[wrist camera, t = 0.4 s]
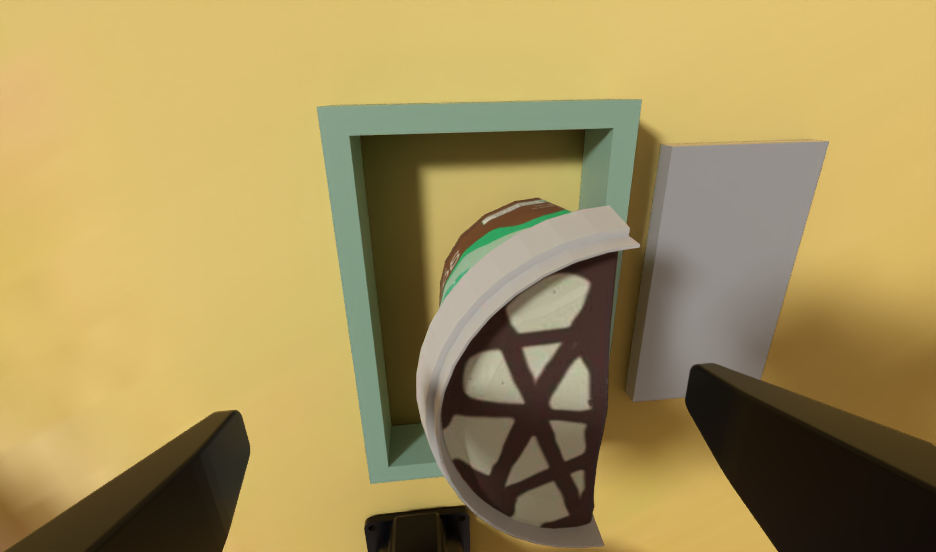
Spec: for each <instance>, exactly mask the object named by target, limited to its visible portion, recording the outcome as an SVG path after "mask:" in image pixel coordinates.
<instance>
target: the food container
mask: <svg viewBox="0 0 936 552" xmlns="http://www.w3.org/2000/svg"><path fill="white" fill-rule="evenodd" d="M629 231H630V227H629V226H628V225H627V224H626V223H625V222H624V221H623V220H622V219H621V217H620V216H619V215H618V214H617V213H616V212H615V211H614V210H613V209H612V207H611V206H610V205H608V206H602V207H595V208H589V209H582V210H577V211H574V212H570V211H568V210H566V209H563V208H561V207H559V206H556V205H554V204H552V203H549V202H547V201H545V200H542V199H540V198H533V199H527V200H520V201H514V202H512V203H510V204H507V205H505V206H503V207H501V208H498V209H496V210H494V211H492V212H489V213H487V214H485V215H484V216H482V217H481V218H480V219H479V220H478V221H477V222H476V223H474V224H473V225H472V226H471V227H470V228H469V229H468V230H466V231H465V232H464V233H463V234H462V235H461V236H460V238H459V239H458V241H457V242H456V244H455V246H454V247H453V249H452V251H451V252H450V254H449V256H448V257H447V259H446V261H445V265H444V269H443V273H442V277H441V281H440V299H439V310H438V311H437V313H436V315H435V316H434V318H433V320H432V322H431V323H430V326H429V329H428V331H427V334H426V337H425V339H424V342H423V345H422V347H421V351H420V357H419V362H418V368H417V373H416V394H417V403H418V408H419V413H420V418H421V422H422V425H423V428H424V431H425V434H426V436H427V439H428V442H429V445H430V448H431V451H432V453H433V455H434V458H435V460H436V463H437V465H438V467H439V469H440V471H441V472H442V474H443V475H444V477H445V478H446V480H447V481H448V483H449V484H450V486H451V487H452V488H453V489H454V491H455V492H456V494H457V495H458V497H459V498H460V500H461V501H462V502H463V503H464V504H465V505H466V506H467V507H468V508H469V509H470V510H471V511H472V512H473V513H474V514H475V515H476V516H478V517H479V518H480V519H482V520H483V521H485V522H486V523H488V524H489V525H491V526H492V527H494V528H495V529H498V530H500V531H502V532H504V533H506V534H508V535H510V536H513V537H515V538H518V539H522V540H525V541H528V542H532V543H535V544H541V545H547V546H553V547H566V548H587V547H601V546H604V543H603V540H602V538H601V535H600V532H599V530H598V527H597V524H596V522H595V519H594V516H593V509H594V485H595V476H596V467H597V461H598V455H599V449H600V445H601V440H602V436H603V431H604V425H605V420H606V415H607V406H608V376H609V349H610V330H611V320H612V309H613V299H614V289H615V279H616V269H617V259H618V251H621V250H627V249H633V248H639V247H640V244H639V243H638V242H636V241H635V240H634V239H633V238H631V237H630V236H629Z"/></svg>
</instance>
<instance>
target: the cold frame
mask: <svg viewBox="0 0 936 552" xmlns="http://www.w3.org/2000/svg"><path fill="white" fill-rule="evenodd" d="M641 102H642V100H637V99H593V100H548V101H503V102H458V103H413V104H367V105H330V106H320V107H317V112H318V119H319V126H320V133H321V140H322V147H323V154H324V161H325V168H326V175H327V182H328V189H329V196H330V203H331V210H332V217H333V224H334V231H335V238H336V245H337V252H338V259H339V266H340V274H341V281H342V288H343V295H344V302H345V309H346V316H347V323H348V330H349V337H350V344H351V351H352V358H353V365H354V372H355V379H356V386H357V393H358V400H359V407H360V414H361V421H362V428H363V435H364V442H365V449H366V456H367V463H368V470H369V477H370V484H374V483H383V482H393V481H403V480H413V479H423V478H432V477H442V476H444V475H443V474H442V472H441V471H440V469H439V467H438V465H437V463H436V460H435V458H434V455H433V453H432V451H431V448H430V445H429V442H428V439H427V436H426V434H425V431H424V428H423V425H422V423H417V424H406V425H395V426H392V425H391V416H390V407H389V398H388V388H387V379H386V370H385V361H384V352H383V343H382V334H381V325H380V315H379V306H378V297H377V288H376V279H375V270H374V261H373V251H372V242H371V233H370V224H369V215H368V206H367V197H366V188H365V178H364V169H363V160H362V151H361V142H360V135H390V134H425V133H460V132H495V131H530V130H565V129H585V139H584V151H583V164H582V176H581V189H580V201H579V210H582V209H589V208H595V207H602V206H608V205H610V206H611V207H612V209H613V210H614V211H615V212H616V213H617V214H618V215H619V216H620V217H621V219H622V220H623V221H624V222H625V223H627V215H628V207H629V199H630V191H631V183H632V175H633V167H634V159H635V151H636V143H637V135H638V127H639V118H640V110H641ZM622 255H623V250H621V251H618V259H617V269H616V279H615V289H614V299H613V309H612V320H611V330H610V349H609V359H610V351H611V343H612V335H613V327H614V319H615V311H616V303H617V295H618V287H619V279H620V271H621V263H622Z"/></svg>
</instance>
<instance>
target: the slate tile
mask: <svg viewBox="0 0 936 552" xmlns="http://www.w3.org/2000/svg"><path fill="white" fill-rule="evenodd" d="M828 144H829V141H822V140H812V139H807V140H776V141H746V142H715V143H684V144H661V147H660V154H659V161H658V167H657V174H656V181H655V188H654V195H653V202H652V209H651V216H650V222H649V229H648V236H647V243H646V250H645V257H644V264H643V271H642V277H641V284H640V291H639V298H638V305H637V312H636V319H635V325H634V332H633V339H632V346H631V353H630V360H629V367H628V374H627V380H626V387H625V392H626V393H627V395H628V396H629V398H630V399H631V400H632V402H640V401H651V400H662V399H673V398H685V396H686V390H687V384H688V378H689V372H690V369H691V367H692V366H693V365H695V364H703V363H715V364H718V365H721V366H724V367H726V368H729V369H732V370H734V371H737V372H740V373H742V374H745V375H748V376H751V377H753V378H756V379H759V380H761V377H762V373H763V370H764V366H765V363H766V359H767V356H768V352H769V349H770V345H771V342H772V338H773V335H774V331H775V328H776V324H777V321H778V317H779V314H780V311H781V307H782V304H783V300H784V297H785V293H786V290H787V286H788V283H789V279H790V276H791V272H792V269H793V265H794V262H795V258H796V255H797V251H798V248H799V245H800V241H801V238H802V234H803V231H804V227H805V224H806V220H807V217H808V213H809V210H810V206H811V203H812V199H813V196H814V192H815V189H816V185H817V182H818V179H819V175H820V172H821V168H822V165H823V161H824V158H825V154H826V151H827V147H828Z"/></svg>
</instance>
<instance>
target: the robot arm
mask: <svg viewBox="0 0 936 552" xmlns="http://www.w3.org/2000/svg"><path fill="white" fill-rule="evenodd" d="M685 402H686V406H687V409H688V411H689V413H690V415H691V416H692V418H693V420H694V422H695V424H696V425H697V427H698V429H699V431H700V432H701V434H702V436H703V438H704V439H705V441H706V443H707V445H708V447H709V448H710V450H711V452H712V454H713V455H714V457H715V459H716V461H717V462H718V464H719V466H720V467H721V469H722V471H723V472H724V474H725V476H726V477H727V479H728V480H729V482H730V483H731V485H732V486H733V488H734V489H735V491H736V492H737V494H738V495H739V496H740V498H741V499H742V501H743V502H744V504H745V505H746V506H747V508H748V509H749V511H750V512H751V514H752V515H753V516H754V518H755V519H756V521H757V522H758V524H759V525H760V526H761V528H762V529H763V531H764V532H765V534H766V535H767V536H768V538H769V539H770V541H771V542H772V544H773V545H774V547H775V548H776V549H777V551H778V552H936V447H935V446H934V445H933V444H932V443H929V442H927V441H924V440H921V439H919V438H916V437H913V436H910V435H908V434H905V433H902V432H900V431H897V430H894V429H891V428H889V427H886V426H883V425H881V424H878V423H875V422H872V421H870V420H867V419H864V418H862V417H859V416H856V415H854V414H851V413H848V412H845V411H843V410H840V409H837V408H835V407H832V406H829V405H826V404H824V403H821V402H818V401H816V400H813V399H810V398H807V397H805V396H802V395H799V394H797V393H794V392H791V391H789V390H786V389H783V388H780V387H778V386H775V385H772V384H770V383H767V382H764V381H761V380H759V379H756V378H753V377H751V376H748V375H745V374H742V373H740V372H737V371H734V370H732V369H729V368H726V367H724V366H721V365H718V364H715V363H703V364H695V365H693V366H692V367H691V369H690V372H689V378H688V384H687V390H686V396H685ZM249 456H250V444H249V440H248V436H247V433H246V429H245V425H244V422H243V418H242V415H241V413H240V412H239V411H237V410H228V411H218V412H214V413H212V414H211V415H209V416H208V417H206V418H205V419H203V420H202V421H200V422H199V423H197V424H196V425H194V426H193V427H191V428H190V429H188V430H187V431H185V432H184V433H182V434H181V435H179V436H178V437H176V438H175V439H173V440H172V441H170V442H168V443H167V444H165V445H164V446H162V447H161V448H159V449H158V450H156V451H155V452H153V453H152V454H150V455H149V456H147V457H146V458H144V459H143V460H141V461H140V462H138V463H137V464H135V465H134V466H132V467H131V468H129V469H128V470H126V471H125V472H123V473H122V474H120V475H119V476H117V477H116V478H114V479H113V480H111V481H110V482H108V483H106V484H105V485H103V486H102V487H100V488H99V489H97V490H96V491H94V492H93V493H91V494H90V495H88V496H87V497H85V498H84V499H82V500H81V501H79V502H78V503H76V504H75V505H73V506H72V507H70V508H69V509H67V510H66V511H64V512H63V513H61V514H60V515H58V516H57V517H55V518H54V519H52V520H51V521H49V522H48V523H46V524H44V525H43V526H41V527H40V528H38V529H37V530H35V531H34V532H32V533H31V534H29V535H28V536H26V537H25V538H23V539H22V540H20V541H19V542H17V543H16V544H14V545H13V546H11V547H10V548H8V549H7V550H5V551H4V552H222V550H223V548H224V545H225V542H226V539H227V536H228V533H229V530H230V526H231V523H232V519H233V515H234V512H235V508H236V504H237V501H238V497H239V493H240V490H241V486H242V482H243V479H244V475H245V471H246V468H247V464H248V460H249ZM364 530H365V536H366V543H367V549H368V552H470V526H469V512H468V509H467V508H465V507H456V508H447V509H438V510H429V511H419V512H410V513H401V514H392V515H383V516H374V517H369V518H368V519H366V521H365V528H364Z"/></svg>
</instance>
